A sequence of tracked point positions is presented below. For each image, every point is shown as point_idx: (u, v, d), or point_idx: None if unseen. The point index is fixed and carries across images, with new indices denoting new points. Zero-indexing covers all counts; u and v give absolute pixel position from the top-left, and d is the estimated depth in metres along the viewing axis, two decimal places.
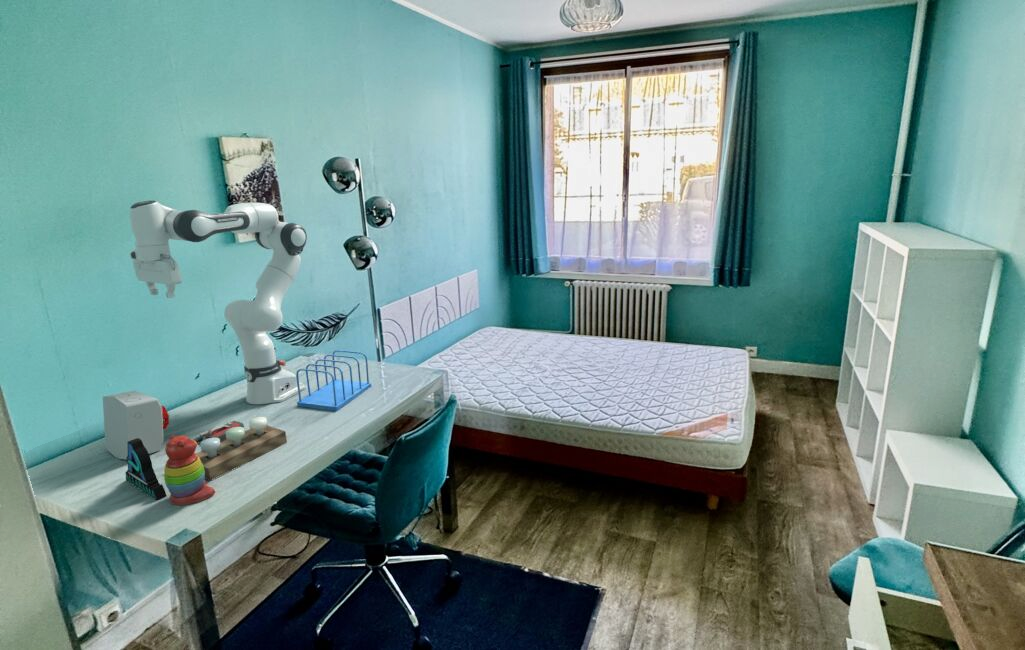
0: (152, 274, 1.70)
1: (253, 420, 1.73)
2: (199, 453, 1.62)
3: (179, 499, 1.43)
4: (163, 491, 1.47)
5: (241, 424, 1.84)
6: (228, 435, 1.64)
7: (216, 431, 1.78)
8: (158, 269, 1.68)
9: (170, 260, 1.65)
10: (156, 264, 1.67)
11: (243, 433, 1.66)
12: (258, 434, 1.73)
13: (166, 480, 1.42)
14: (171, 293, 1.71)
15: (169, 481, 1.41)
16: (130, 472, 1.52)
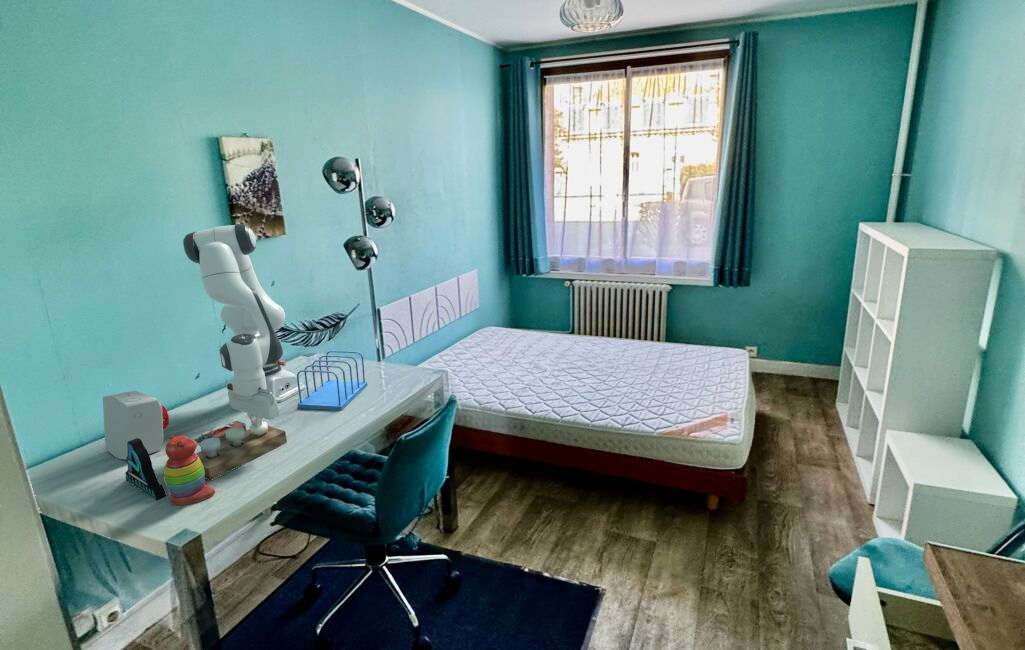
0: (249, 406, 1.69)
1: None
2: (199, 453, 1.62)
3: (179, 499, 1.43)
4: (163, 491, 1.47)
5: (243, 424, 1.84)
6: (228, 435, 1.64)
7: (218, 431, 1.78)
8: (256, 403, 1.67)
9: (269, 396, 1.64)
10: (254, 398, 1.66)
11: (243, 433, 1.66)
12: None
13: (166, 480, 1.42)
14: (259, 422, 1.72)
15: (169, 481, 1.41)
16: (130, 472, 1.52)
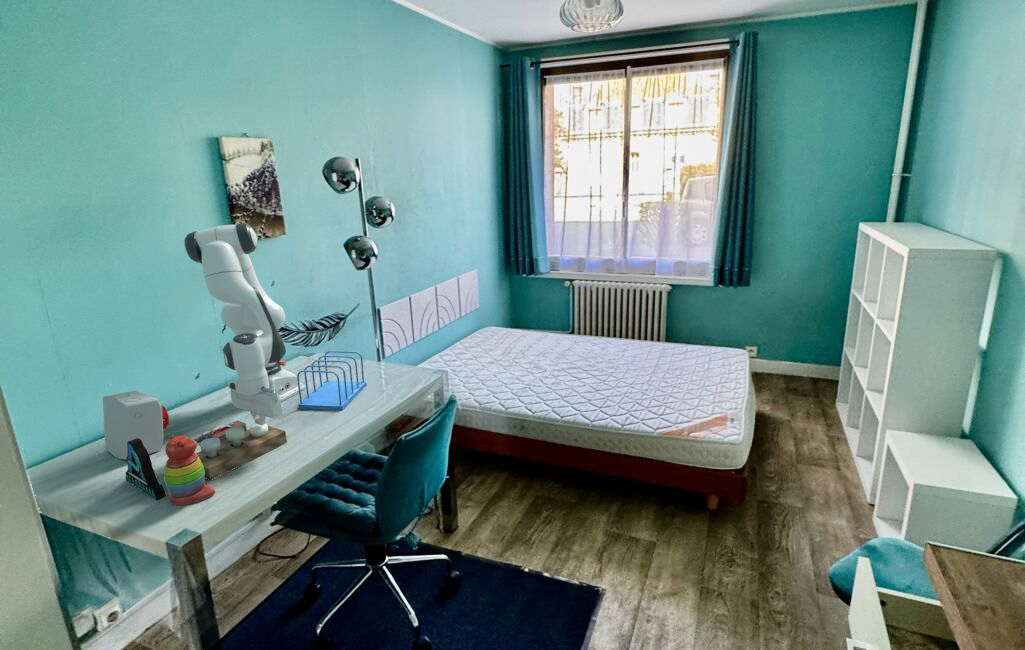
0: (252, 405, 1.70)
1: (254, 426, 1.73)
2: (199, 453, 1.62)
3: (179, 499, 1.43)
4: (163, 491, 1.47)
5: (243, 424, 1.84)
6: (228, 435, 1.64)
7: (218, 431, 1.78)
8: (259, 401, 1.68)
9: (273, 394, 1.65)
10: (257, 397, 1.67)
11: (243, 433, 1.66)
12: None
13: (166, 480, 1.42)
14: (262, 421, 1.72)
15: (169, 481, 1.41)
16: (130, 472, 1.52)
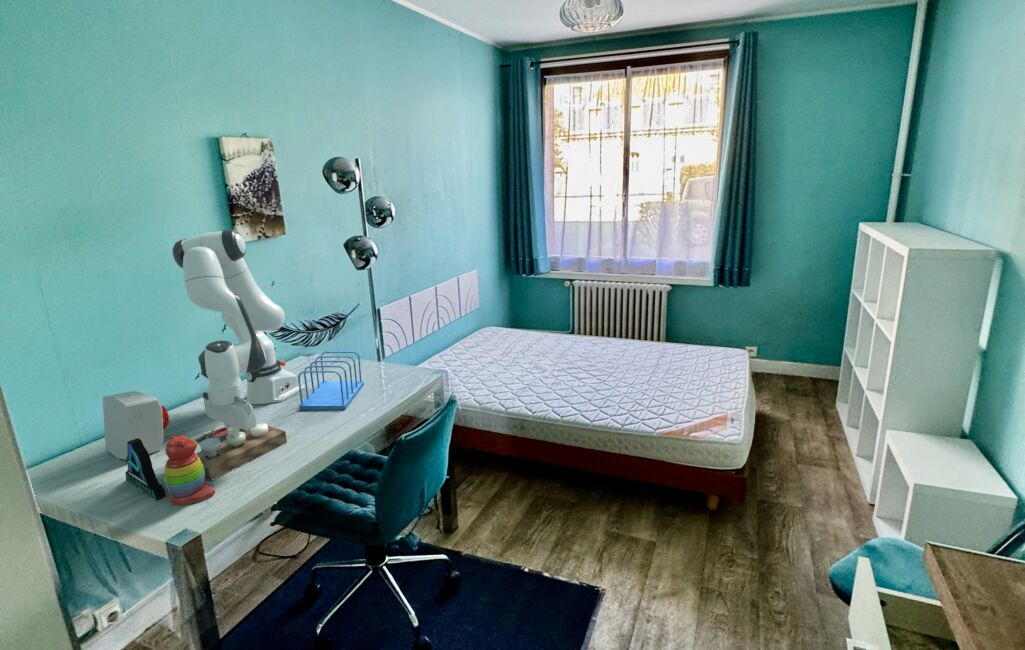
0: (225, 416, 1.62)
1: None
2: (199, 453, 1.62)
3: (179, 499, 1.43)
4: (163, 491, 1.47)
5: None
6: (229, 440, 1.64)
7: (219, 431, 1.78)
8: (232, 412, 1.60)
9: (246, 405, 1.58)
10: (230, 408, 1.60)
11: (244, 438, 1.67)
12: None
13: (166, 480, 1.42)
14: (236, 432, 1.65)
15: (169, 481, 1.41)
16: (130, 472, 1.52)
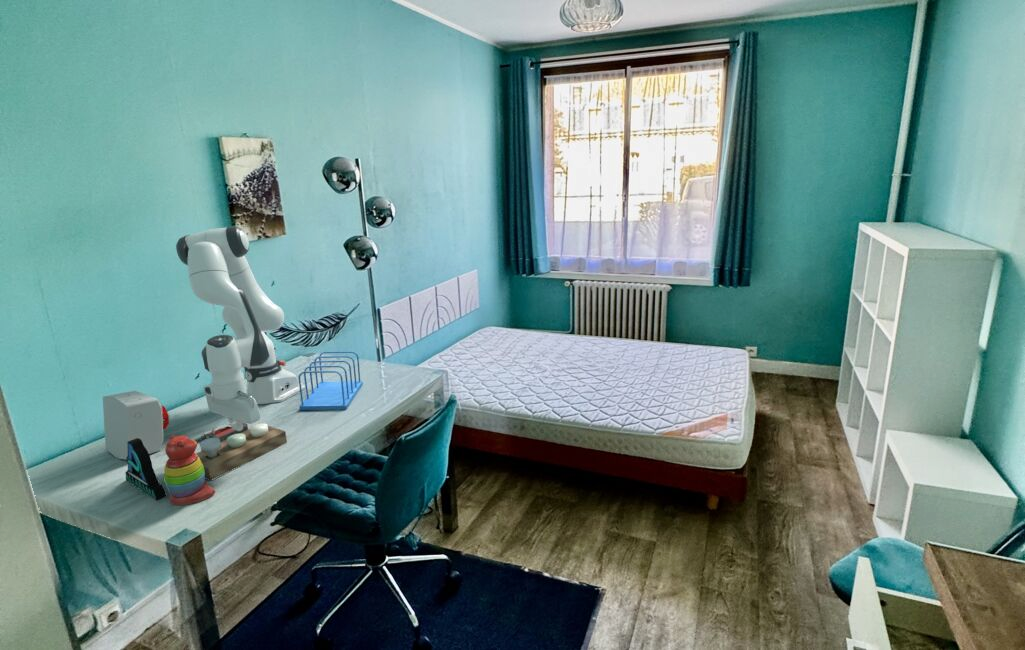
0: (228, 410, 1.63)
1: (254, 426, 1.73)
2: (199, 453, 1.62)
3: (179, 499, 1.43)
4: (163, 491, 1.47)
5: (245, 424, 1.84)
6: (229, 442, 1.64)
7: (219, 431, 1.77)
8: (235, 406, 1.61)
9: (249, 399, 1.58)
10: (233, 402, 1.60)
11: (245, 440, 1.67)
12: None
13: (166, 480, 1.42)
14: (240, 426, 1.65)
15: (169, 481, 1.41)
16: (130, 472, 1.52)
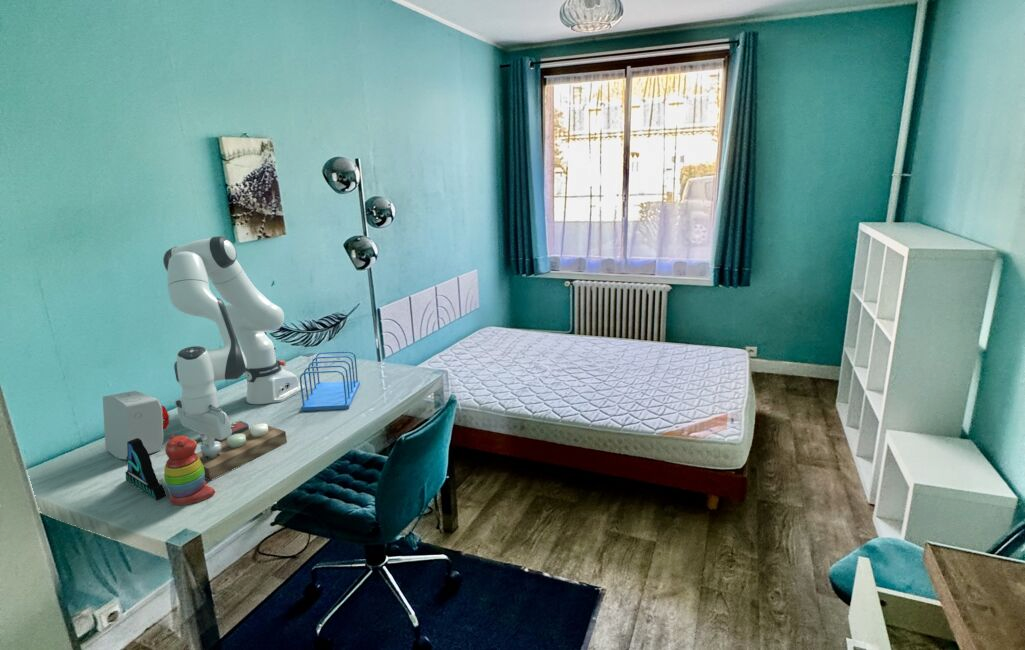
0: (199, 425, 1.56)
1: (254, 426, 1.73)
2: (199, 453, 1.62)
3: (179, 499, 1.43)
4: (163, 491, 1.47)
5: (246, 425, 1.83)
6: (229, 442, 1.64)
7: None
8: (206, 421, 1.54)
9: (220, 414, 1.51)
10: (204, 416, 1.53)
11: (245, 440, 1.67)
12: None
13: (166, 480, 1.42)
14: (211, 442, 1.58)
15: (169, 481, 1.41)
16: (130, 472, 1.52)
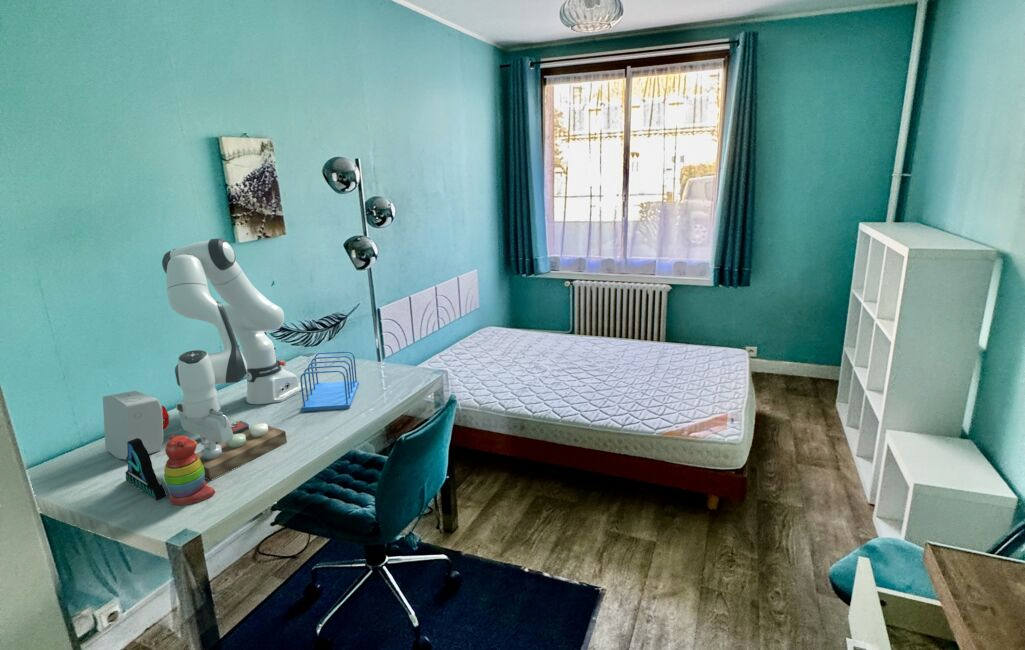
0: (200, 429, 1.56)
1: (254, 426, 1.73)
2: (199, 453, 1.62)
3: (179, 499, 1.43)
4: (163, 491, 1.47)
5: (246, 425, 1.83)
6: (229, 442, 1.64)
7: None
8: (207, 425, 1.54)
9: (221, 418, 1.51)
10: (205, 420, 1.53)
11: (245, 440, 1.67)
12: None
13: (166, 480, 1.42)
14: (212, 445, 1.59)
15: (169, 481, 1.41)
16: (130, 472, 1.52)
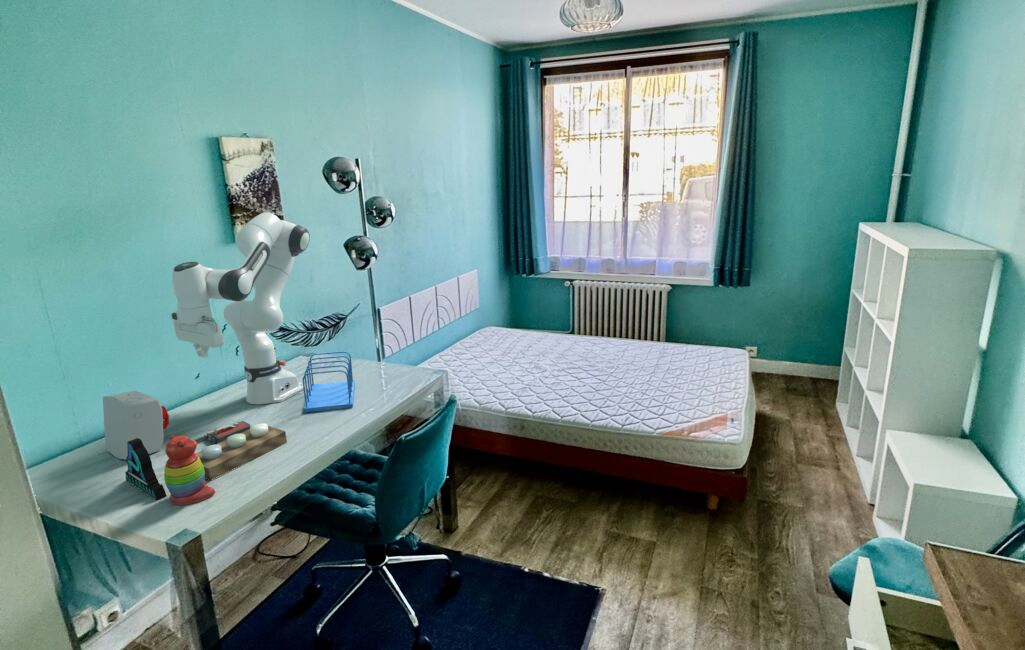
0: (194, 336, 1.68)
1: (254, 426, 1.73)
2: (199, 453, 1.62)
3: (179, 499, 1.43)
4: (163, 491, 1.47)
5: (248, 425, 1.83)
6: (229, 442, 1.64)
7: (221, 431, 1.77)
8: (200, 331, 1.66)
9: (213, 323, 1.63)
10: (198, 326, 1.65)
11: (245, 440, 1.67)
12: None
13: (166, 480, 1.42)
14: (205, 352, 1.71)
15: (169, 481, 1.41)
16: (130, 472, 1.52)
